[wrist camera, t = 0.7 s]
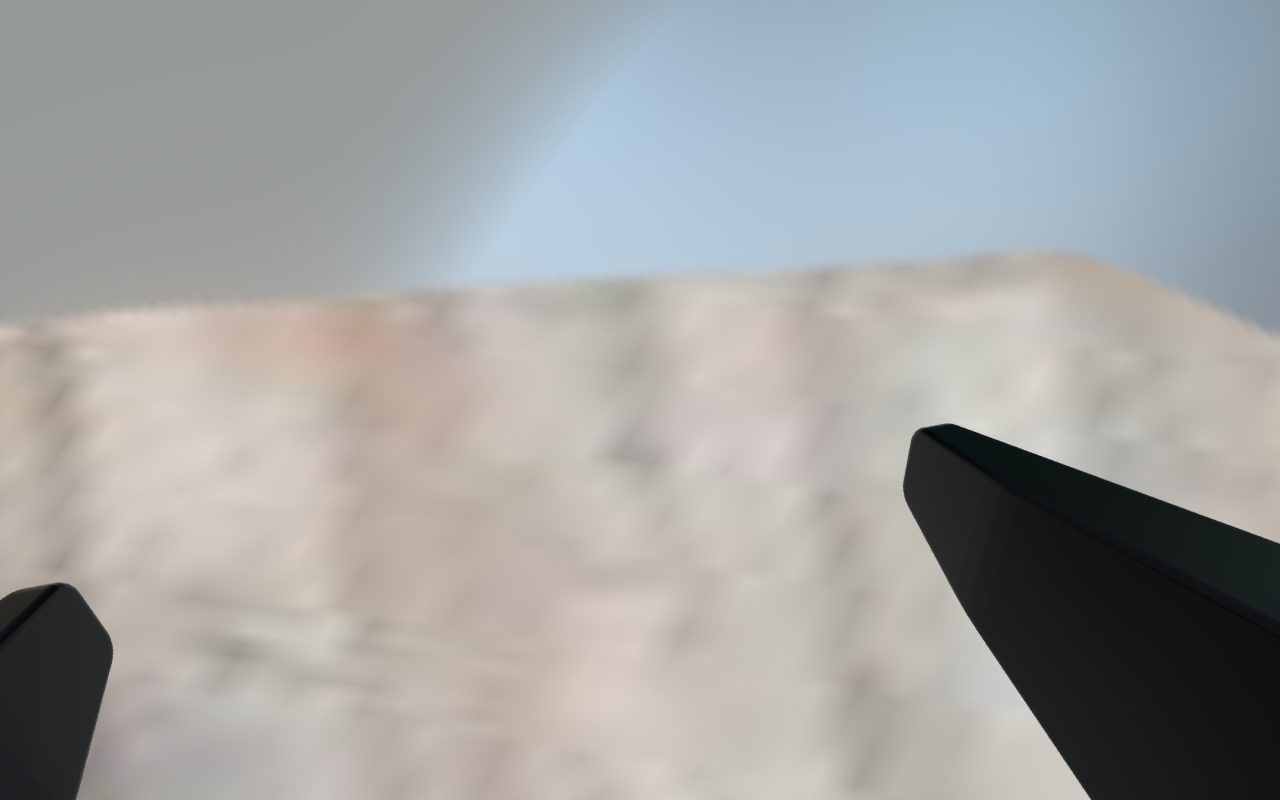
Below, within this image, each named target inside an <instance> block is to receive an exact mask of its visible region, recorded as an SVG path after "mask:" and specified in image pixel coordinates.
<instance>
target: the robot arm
mask: <svg viewBox="0 0 1280 800" xmlns="http://www.w3.org/2000/svg"><path fill="white" fill-rule="evenodd" d="M903 492H904V497H905V500H906V502H907V505H908V507H909V509H910V511H911V512H912V514H913V516H914V518H915V520H916V522H917V524H918V526H919V527H920V529H921V531H922V533H923V535H924V537H925V539H926V541H927V542H928V544H929V546H930V548H931V550H932V552H933V554H934V556H935V557H936V559H937V561H938V563H939V565H940V567H941V569H942V571H943V572H944V574H945V576H946V578H947V580H948V582H949V584H950V586H951V587H952V589H953V591H954V593H955V595H956V597H957V598H958V600H959V602H960V604H961V605H962V607H963V609H964V611H965V612H966V614H967V616H968V617H969V619H970V620H971V622H972V623H973V625H974V626H975V628H976V630H977V631H978V633H979V634H980V636H981V637H982V639H983V640H984V642H985V643H986V645H987V646H988V647H989V649H990V650H991V652H992V653H993V655H994V656H995V658H996V659H997V661H998V662H999V664H1000V665H1001V667H1002V668H1003V670H1004V671H1005V673H1006V674H1007V676H1008V677H1009V679H1010V680H1011V682H1012V683H1013V685H1014V686H1015V688H1016V689H1017V691H1018V692H1019V694H1020V695H1021V697H1022V698H1023V699H1024V701H1025V702H1026V704H1027V705H1028V707H1029V708H1030V710H1031V711H1032V713H1033V714H1034V716H1035V717H1036V719H1037V720H1038V722H1039V723H1040V725H1041V726H1042V728H1043V729H1044V731H1045V732H1046V734H1047V735H1048V737H1049V738H1050V740H1051V741H1052V743H1053V744H1054V746H1055V747H1056V748H1057V750H1058V751H1059V753H1060V754H1061V756H1062V757H1063V759H1064V760H1065V762H1066V763H1067V765H1068V766H1069V768H1070V769H1071V771H1072V772H1073V774H1074V775H1075V777H1076V778H1077V780H1078V781H1079V783H1080V784H1081V786H1082V787H1083V789H1084V790H1085V792H1086V793H1087V795H1088V796H1089V797H1090V799H1091V800H1280V544H1279V543H1277V542H1274V541H1271V540H1268V539H1266V538H1263V537H1260V536H1257V535H1255V534H1252V533H1249V532H1247V531H1244V530H1241V529H1238V528H1236V527H1233V526H1230V525H1227V524H1225V523H1222V522H1219V521H1217V520H1214V519H1211V518H1208V517H1206V516H1203V515H1200V514H1197V513H1195V512H1192V511H1189V510H1187V509H1184V508H1181V507H1178V506H1176V505H1173V504H1170V503H1167V502H1165V501H1162V500H1159V499H1157V498H1154V497H1151V496H1148V495H1146V494H1143V493H1140V492H1138V491H1135V490H1132V489H1129V488H1127V487H1124V486H1121V485H1118V484H1116V483H1113V482H1110V481H1108V480H1105V479H1102V478H1099V477H1097V476H1094V475H1091V474H1088V473H1086V472H1083V471H1080V470H1078V469H1075V468H1072V467H1069V466H1067V465H1064V464H1061V463H1059V462H1056V461H1053V460H1050V459H1048V458H1045V457H1042V456H1039V455H1037V454H1034V453H1031V452H1029V451H1026V450H1023V449H1020V448H1018V447H1015V446H1012V445H1009V444H1007V443H1004V442H1001V441H999V440H996V439H993V438H990V437H988V436H985V435H982V434H980V433H977V432H974V431H971V430H969V429H966V428H963V427H960V426H958V425H955V424H940V425H935V426H929V427H923V428H920V429H919V430H917V431H916V432H915V433H914V435H913V436H912V439H911V444H910V449H909V454H908V460H907V465H906V470H905V476H904V481H903ZM112 659H113V646H112V642H111V639H110V636H109V634H108V633H107V631H106V630H105V628H104V627H103V625H102V624H101V623H100V621H99V620H98V618H97V617H96V615H95V614H94V613H93V611H92V610H91V608H90V607H89V605H88V604H87V603H86V601H85V600H84V598H83V597H82V596H81V594H80V593H79V591H78V590H77V589H76V588H75V587H73V586H71V585H69V584H67V583H52V584H47V585H41V586H35V587H30V588H24V589H20V590H17V591H15V592H12V593H10V594H9V595H7V596H6V597H4V598H3V599H1V600H0V800H76V797H77V794H78V791H79V787H80V783H81V780H82V776H83V772H84V768H85V764H86V760H87V756H88V753H89V749H90V745H91V741H92V737H93V733H94V730H95V726H96V722H97V718H98V714H99V710H100V707H101V703H102V699H103V695H104V691H105V687H106V683H107V680H108V676H109V672H110V668H111V664H112Z"/></svg>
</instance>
